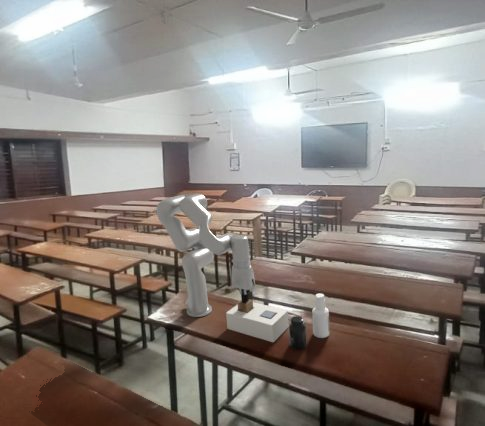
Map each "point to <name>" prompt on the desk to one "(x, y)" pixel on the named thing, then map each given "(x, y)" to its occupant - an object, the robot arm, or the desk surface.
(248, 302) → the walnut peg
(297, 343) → the supplement bottle
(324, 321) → the spray bottle
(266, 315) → the slate peg
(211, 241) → the robot arm
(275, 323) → the peg board
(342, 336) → the desk surface
